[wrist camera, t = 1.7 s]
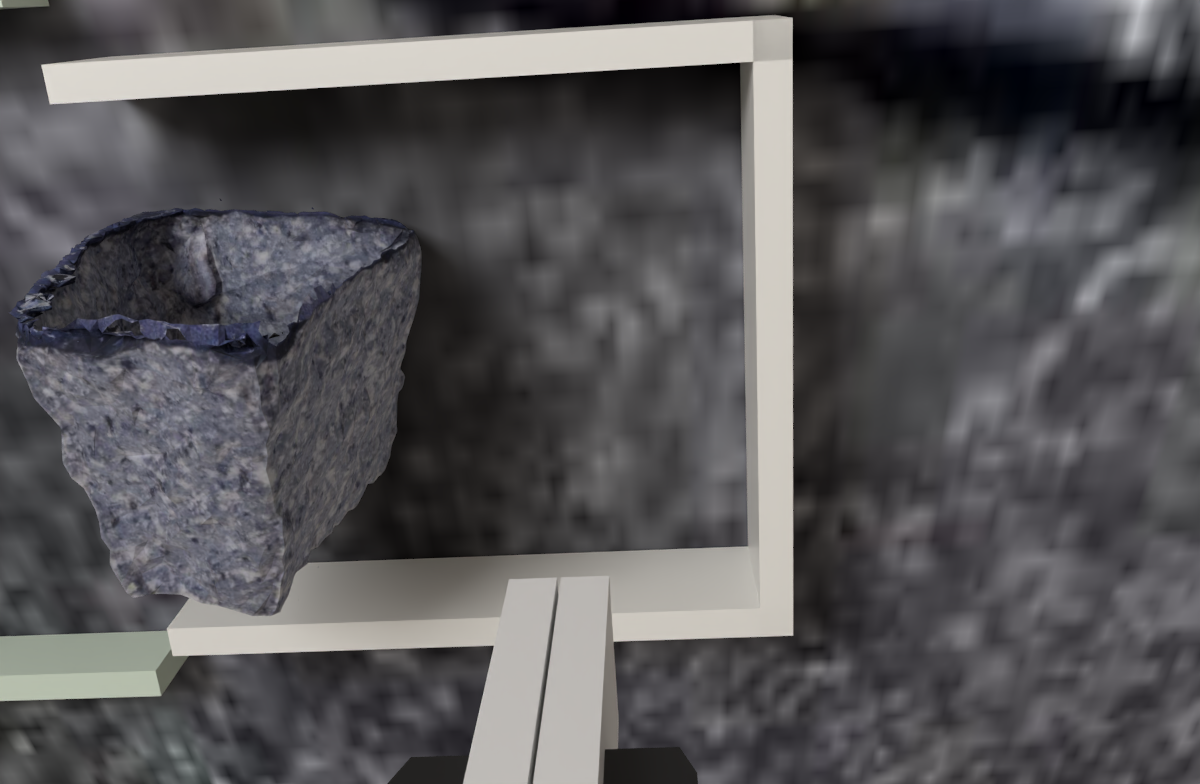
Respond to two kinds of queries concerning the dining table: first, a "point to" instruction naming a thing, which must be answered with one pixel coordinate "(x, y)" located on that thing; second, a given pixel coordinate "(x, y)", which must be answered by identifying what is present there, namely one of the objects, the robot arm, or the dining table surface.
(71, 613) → the dining table surface
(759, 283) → the frame
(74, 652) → the pale green u-shaped frame
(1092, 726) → the dining table surface
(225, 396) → the stone
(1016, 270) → the dining table surface
